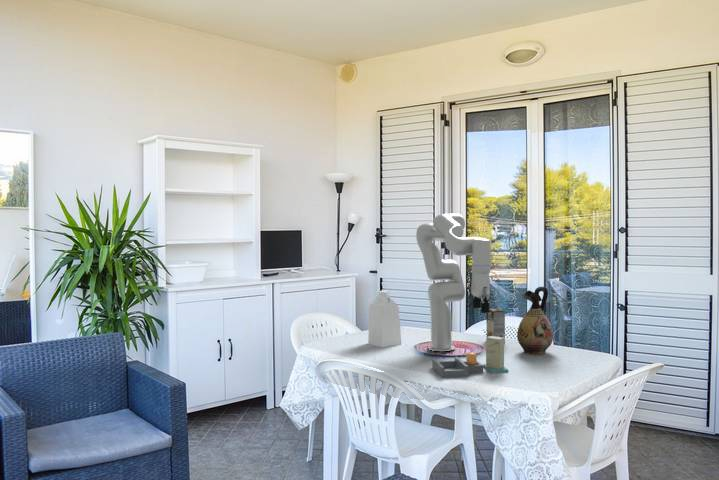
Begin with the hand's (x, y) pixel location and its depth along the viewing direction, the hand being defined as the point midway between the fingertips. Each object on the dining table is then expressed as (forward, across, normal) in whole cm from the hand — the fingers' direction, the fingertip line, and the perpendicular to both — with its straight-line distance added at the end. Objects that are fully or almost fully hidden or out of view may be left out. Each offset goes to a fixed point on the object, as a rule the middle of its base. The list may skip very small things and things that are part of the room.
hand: (480, 310), depth 238 cm
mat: (+23, +6, +4) cm, 24 cm away
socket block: (+23, +5, -11) cm, 27 cm away
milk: (+26, -51, -31) cm, 65 cm away
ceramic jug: (+24, -17, +32) cm, 44 cm away
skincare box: (+23, +6, +4) cm, 24 cm away
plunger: (+23, +6, -6) cm, 24 cm away
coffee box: (+25, -42, +23) cm, 54 cm away
